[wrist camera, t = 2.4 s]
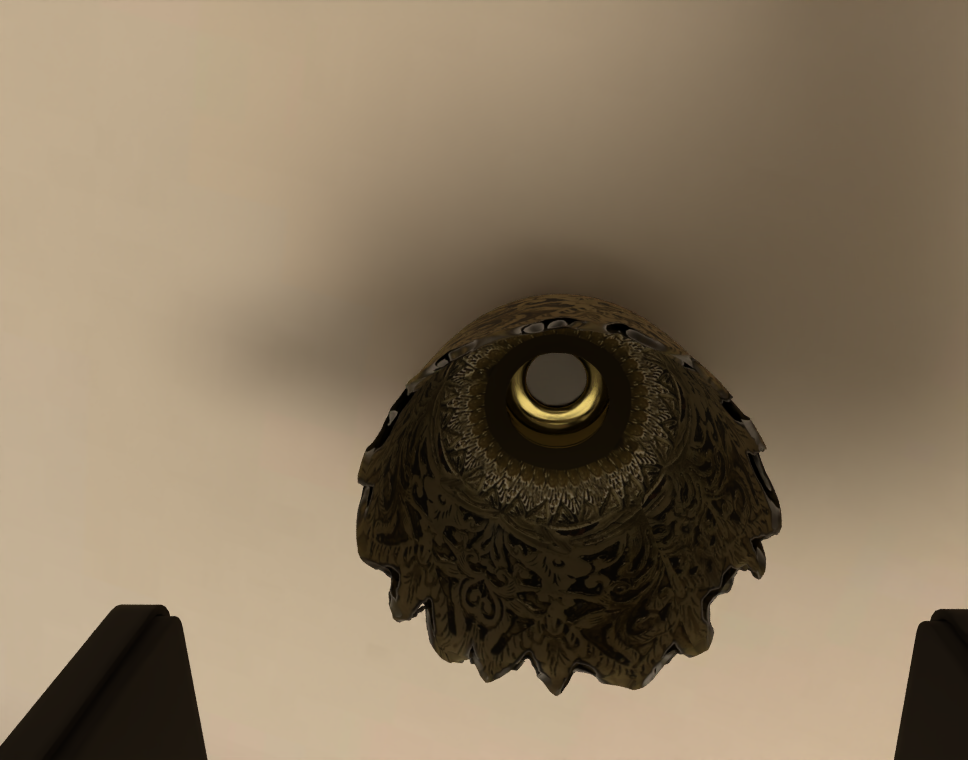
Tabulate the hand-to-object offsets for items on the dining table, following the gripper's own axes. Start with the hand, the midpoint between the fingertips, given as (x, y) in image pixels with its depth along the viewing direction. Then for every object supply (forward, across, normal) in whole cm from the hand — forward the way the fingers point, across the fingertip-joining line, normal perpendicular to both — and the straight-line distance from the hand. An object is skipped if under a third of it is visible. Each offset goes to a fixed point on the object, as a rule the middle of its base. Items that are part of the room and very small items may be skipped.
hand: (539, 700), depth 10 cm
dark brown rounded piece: (+12, -1, 0) cm, 12 cm away
